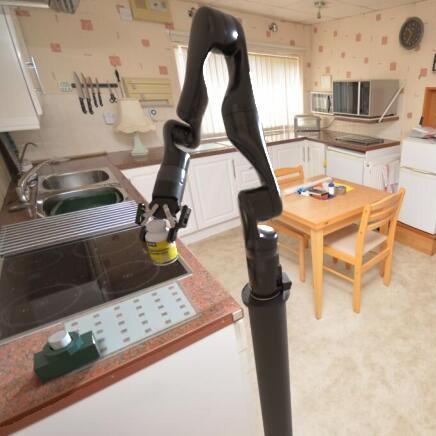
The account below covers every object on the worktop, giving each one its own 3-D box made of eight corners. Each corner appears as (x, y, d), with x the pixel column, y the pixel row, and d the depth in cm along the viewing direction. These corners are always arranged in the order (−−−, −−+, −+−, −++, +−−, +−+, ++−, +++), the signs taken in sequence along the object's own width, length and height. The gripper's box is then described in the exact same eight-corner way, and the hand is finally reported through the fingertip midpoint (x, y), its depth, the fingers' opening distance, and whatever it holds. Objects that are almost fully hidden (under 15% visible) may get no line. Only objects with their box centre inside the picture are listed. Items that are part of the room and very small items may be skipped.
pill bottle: (147, 265, 79) (135, 227, 74) (163, 252, 85) (153, 216, 79) (168, 268, 78) (158, 230, 73) (183, 255, 84) (175, 219, 78)
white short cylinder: (71, 335, 64) (67, 328, 63) (72, 344, 62) (68, 337, 61) (52, 343, 62) (47, 335, 61) (52, 353, 60) (48, 345, 59)
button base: (97, 341, 70) (88, 322, 67) (100, 358, 66) (92, 339, 63) (41, 365, 64) (29, 346, 61) (41, 385, 60) (29, 366, 57)
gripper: (201, 191, 85) (189, 246, 80) (153, 189, 86) (139, 244, 80) (189, 179, 78) (176, 239, 73) (137, 177, 79) (120, 237, 73)
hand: (156, 241), depth 77 cm, fingers closed on pill bottle, 6 cm apart
